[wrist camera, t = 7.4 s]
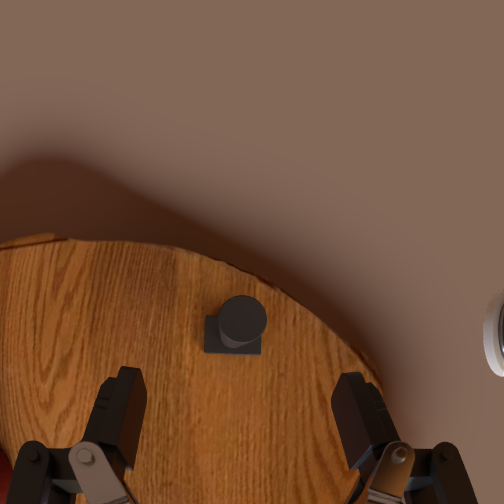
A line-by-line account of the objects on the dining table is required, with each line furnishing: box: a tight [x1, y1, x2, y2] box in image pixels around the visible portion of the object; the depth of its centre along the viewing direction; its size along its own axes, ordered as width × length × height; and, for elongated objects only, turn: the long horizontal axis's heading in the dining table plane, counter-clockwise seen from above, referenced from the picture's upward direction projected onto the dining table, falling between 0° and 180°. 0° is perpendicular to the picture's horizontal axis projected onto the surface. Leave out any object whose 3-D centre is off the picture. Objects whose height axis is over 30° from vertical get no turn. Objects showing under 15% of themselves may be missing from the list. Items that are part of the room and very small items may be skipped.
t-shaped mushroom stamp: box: [204, 295, 267, 355], centre depth 18 cm, size 4×3×13 cm
